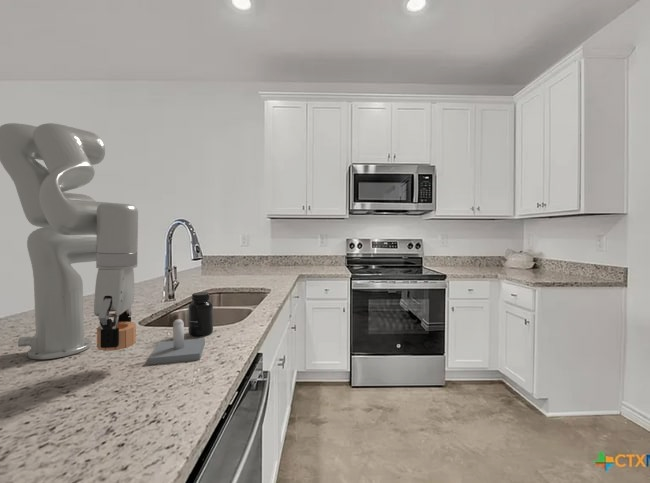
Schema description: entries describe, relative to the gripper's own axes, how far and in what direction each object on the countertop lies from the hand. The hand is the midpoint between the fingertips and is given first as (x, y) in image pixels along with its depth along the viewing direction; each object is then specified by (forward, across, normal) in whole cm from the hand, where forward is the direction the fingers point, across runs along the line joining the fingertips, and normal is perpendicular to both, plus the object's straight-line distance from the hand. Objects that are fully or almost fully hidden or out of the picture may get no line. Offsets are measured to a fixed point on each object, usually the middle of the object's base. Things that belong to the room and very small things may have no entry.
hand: (116, 339), depth 71 cm
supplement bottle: (+7, -21, +15) cm, 27 cm away
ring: (+1, 0, 0) cm, 1 cm away
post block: (+6, -6, +12) cm, 15 cm away
